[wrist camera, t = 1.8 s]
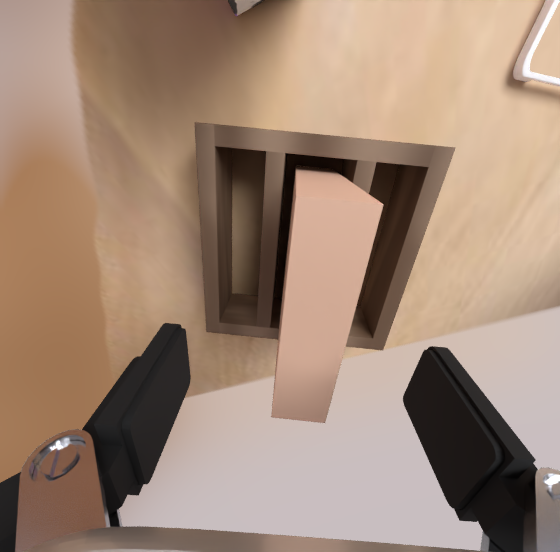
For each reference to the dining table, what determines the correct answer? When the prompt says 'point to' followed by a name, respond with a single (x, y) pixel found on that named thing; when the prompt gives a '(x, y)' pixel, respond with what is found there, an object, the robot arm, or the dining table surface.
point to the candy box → (242, 5)
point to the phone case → (530, 45)
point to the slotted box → (218, 216)
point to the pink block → (320, 288)
